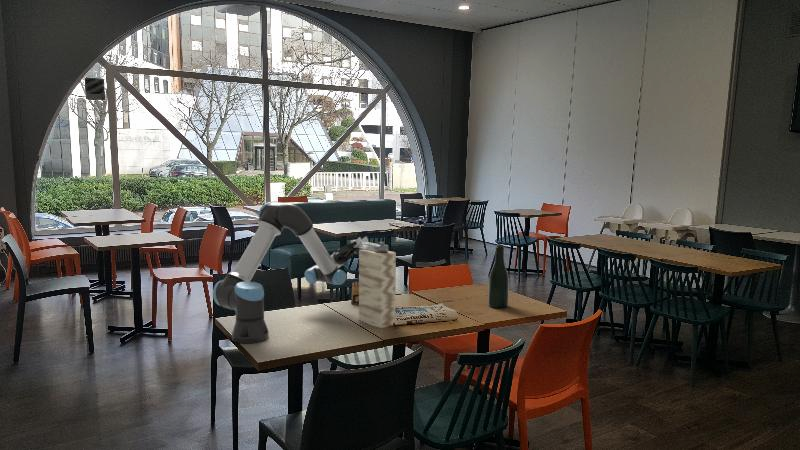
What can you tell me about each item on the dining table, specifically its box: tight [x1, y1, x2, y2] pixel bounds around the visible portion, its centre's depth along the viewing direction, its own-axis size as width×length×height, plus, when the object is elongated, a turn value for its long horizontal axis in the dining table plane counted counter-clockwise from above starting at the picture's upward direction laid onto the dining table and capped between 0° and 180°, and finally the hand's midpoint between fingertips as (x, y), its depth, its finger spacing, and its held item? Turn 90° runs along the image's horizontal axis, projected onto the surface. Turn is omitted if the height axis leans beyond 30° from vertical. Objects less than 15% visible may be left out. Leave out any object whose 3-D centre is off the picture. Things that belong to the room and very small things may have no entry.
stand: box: [358, 249, 397, 329], centre depth 259 cm, size 9×16×34 cm, turn 41°
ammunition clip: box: [350, 281, 359, 305], centre depth 296 cm, size 11×2×12 cm, turn 121°
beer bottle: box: [487, 243, 510, 309], centre depth 290 cm, size 10×10×33 cm
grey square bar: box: [350, 239, 389, 253], centre depth 262 cm, size 6×25×5 cm, turn 41°
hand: (363, 239), depth 264 cm, fingers closed on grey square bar, 3 cm apart
